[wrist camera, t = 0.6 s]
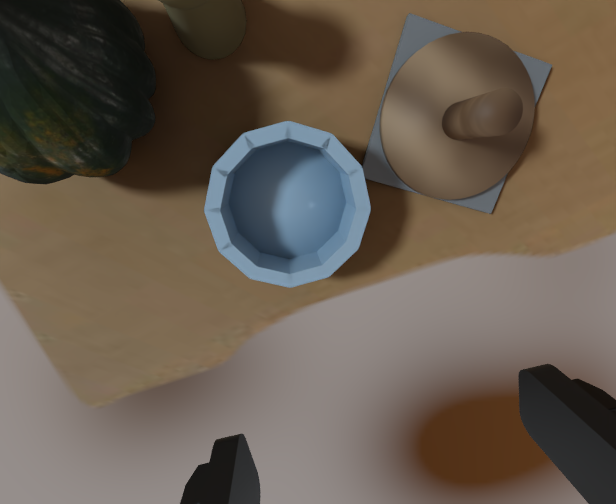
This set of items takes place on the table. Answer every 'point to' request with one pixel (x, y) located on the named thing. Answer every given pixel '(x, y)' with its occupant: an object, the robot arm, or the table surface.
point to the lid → (457, 116)
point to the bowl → (287, 204)
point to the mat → (410, 42)
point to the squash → (71, 88)
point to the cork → (208, 25)
